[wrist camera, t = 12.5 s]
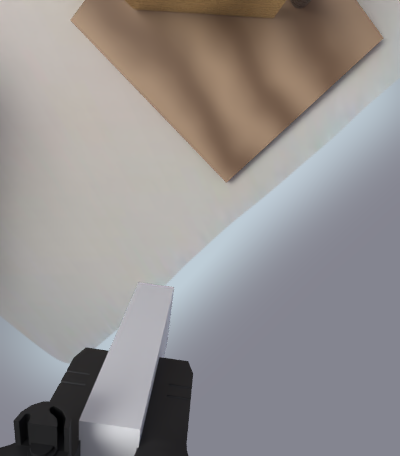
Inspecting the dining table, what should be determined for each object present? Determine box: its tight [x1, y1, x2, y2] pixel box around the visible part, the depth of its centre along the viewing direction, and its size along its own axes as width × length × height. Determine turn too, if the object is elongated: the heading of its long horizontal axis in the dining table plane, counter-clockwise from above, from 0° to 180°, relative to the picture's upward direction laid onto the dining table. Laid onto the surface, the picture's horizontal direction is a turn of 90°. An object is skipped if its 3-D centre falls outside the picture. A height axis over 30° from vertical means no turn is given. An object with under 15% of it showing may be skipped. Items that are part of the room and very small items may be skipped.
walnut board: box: [71, 0, 383, 183], centre depth 33 cm, size 20×22×1 cm
